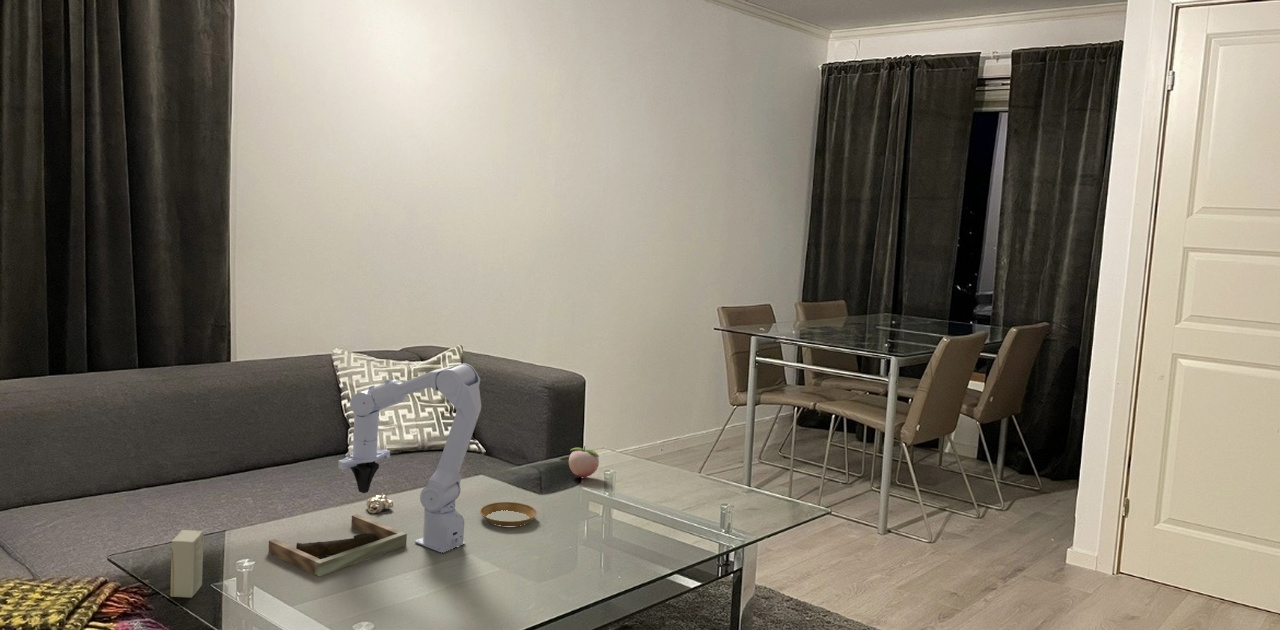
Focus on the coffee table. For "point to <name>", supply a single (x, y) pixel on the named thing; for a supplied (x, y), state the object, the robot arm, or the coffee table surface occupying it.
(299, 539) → the coffee table surface
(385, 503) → the ornament
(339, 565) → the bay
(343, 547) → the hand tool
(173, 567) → the skincare box
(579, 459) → the decorative fruit
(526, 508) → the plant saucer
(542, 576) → the coffee table surface
